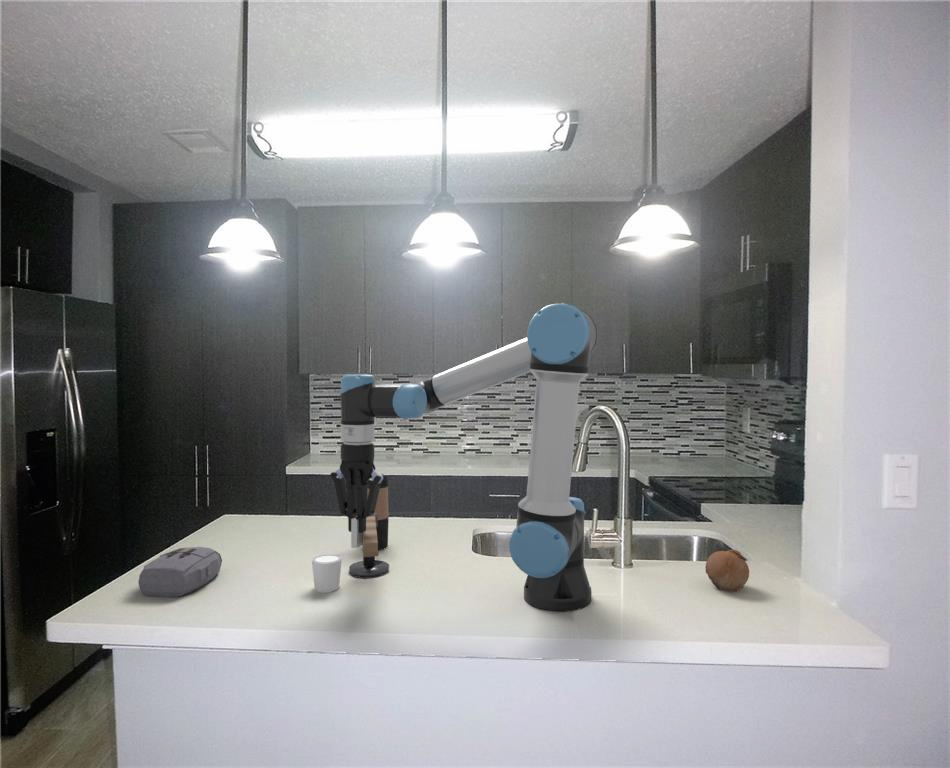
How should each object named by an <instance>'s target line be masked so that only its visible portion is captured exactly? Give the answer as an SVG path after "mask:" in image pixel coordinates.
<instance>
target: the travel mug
mask: <svg viewBox="0 0 950 768" xmlns="http://www.w3.org/2000/svg"><path fill="white" fill-rule="evenodd" d="M384 476H385V475H384ZM371 479H372V476H371V478H370V479H369V485H368V488H367V499H368V495H369V490H370V486H371V483H372V481H371ZM374 513H377V514H378V526H377V527H376V531H377V540H378V551H380V550H381V549H382V550H385V549H387V548H388V545H389V544H388V543H389V519H390V518H389V517H390V516H389V477H388V476H385V478H384V480H383V481H382V483H381V485H380V490H379V494H378V498H377V503H376V507H375V512H374ZM386 547H387V548H386ZM384 548H385V549H384ZM382 550H381V551H382Z"/></svg>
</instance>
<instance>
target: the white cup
mask: <svg viewBox="0 0 950 768" xmlns="http://www.w3.org/2000/svg"><path fill="white" fill-rule="evenodd" d="M311 566H312V577H313V583H314V584H313V585H314V586H313V587H314V590H315V592H319V593H333V592H334V591H337V590H339V589H340V585H341V584H340V582H341V570H342V556H340V555H337V554H321V555H318V556H315V557H313V558H312V559H311Z"/></svg>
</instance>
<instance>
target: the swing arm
mask: <svg viewBox="0 0 950 768" xmlns="http://www.w3.org/2000/svg"><path fill="white" fill-rule="evenodd" d="M377 526H378V514H377V513H374V514H373V515H371V516H369V517H367V518H366V531H365V532H363V545H362V552H363V551H364V557H375V558H376V557H379V550H378V540H377V531H376V527H377Z"/></svg>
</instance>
